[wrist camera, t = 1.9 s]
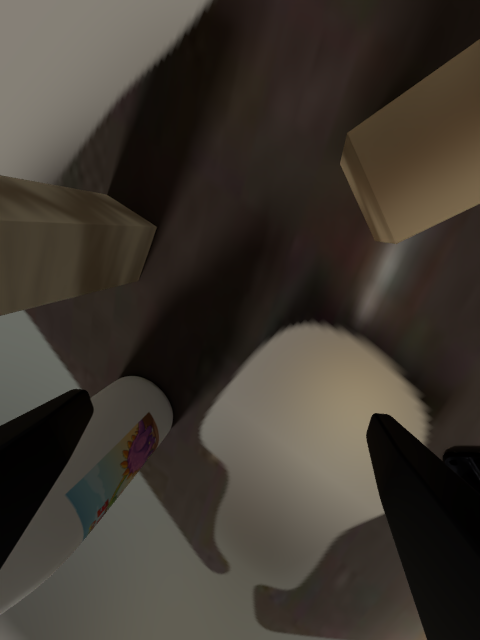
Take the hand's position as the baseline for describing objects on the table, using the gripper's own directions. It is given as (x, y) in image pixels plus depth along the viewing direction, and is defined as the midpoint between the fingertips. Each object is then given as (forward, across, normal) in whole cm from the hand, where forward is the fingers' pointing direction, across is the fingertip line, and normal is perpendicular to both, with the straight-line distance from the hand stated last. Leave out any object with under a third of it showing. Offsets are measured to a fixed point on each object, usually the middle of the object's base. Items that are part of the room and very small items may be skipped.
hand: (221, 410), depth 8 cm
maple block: (+15, +11, -3) cm, 18 cm away
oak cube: (+12, -8, -7) cm, 16 cm away
